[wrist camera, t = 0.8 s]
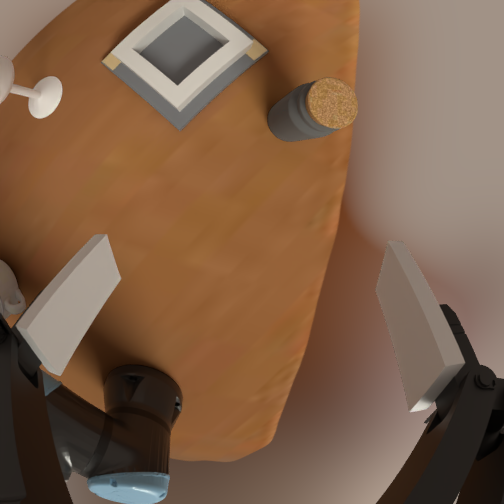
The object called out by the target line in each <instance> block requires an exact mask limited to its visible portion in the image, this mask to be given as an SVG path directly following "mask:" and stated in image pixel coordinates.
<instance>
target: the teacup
mask: <svg viewBox="0 0 504 504" xmlns="http://www.w3.org/2000/svg"><path fill="white" fill-rule="evenodd" d="M18 300H19V301H20V303H19V304H18ZM25 308H26V301H25V298H24V296H23V295H22V294H21V290H20V289H19V288H18V284H17V280H16V278H15V275H14V273H13V272H12V270H11V269H10V267H9V266H8V265H7V264H6V263H5V262H4V261H2V260H0V313H1V314H2V315H3V317H4V319H6V318H8V317H9V316H10V315H11V314H19V313H22V312H23V311H24V310H25Z"/></svg>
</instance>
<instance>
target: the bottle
mask: <svg viewBox="0 0 504 504" xmlns="http://www.w3.org/2000/svg"><path fill="white" fill-rule="evenodd" d="M357 111H358V103H357V98H356V96H355V94H354V92H353V90H352V89H351V88H350V87H349V86H348V85H347V84H346V83H345V82H343V81H342V80H340V79H337V78H332V77H326V78H322V79H319V80H317V81H313V82H311V83H307V84H303V85H301V86H299V87H297V88H296V89H294V90H293V91H291V92H290V93H289V94H287V95H286V96H285V97H284V98H282V99H281V100H280V101H278V102H277V103H276V104H275V105H274V106H273V107H272V108H271V110H270V112H269V114H268V126H269V128H270V130H271V132H272V133H273V134H274V135H275V136H276V137H277V138H279V139H281V140H283V141H291V142H292V141H300V140H307V139H313V138H319V137H324V136H327V135H329V134H331V133H332V132H334V131H337V130H339V129H340V128H343V127H346V126H348V125H349V124H351V123H352V121H353V120H354V119H355V117H356V114H357Z"/></svg>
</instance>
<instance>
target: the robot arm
mask: <svg viewBox="0 0 504 504" xmlns="http://www.w3.org/2000/svg"><path fill="white" fill-rule="evenodd" d="M120 280H121V277H120V275H119V272H118V269H117V266H116V263H115V259H114V256H113V253H112V250H111V247H110V243H109V240H108V237H107V234H95V235H94V236H93V237H92V238H91V239H90V240H89V241H88V242H87V243H86V244H85V245H84V246H83V247H82V248H81V249H80V250H79V251H78V252H77V254H76V255H75V256H74V257H73V258H72V259H71V260H70V261H69V262H68V263H67V264H66V265H65V266H64V267H63V269H62V270H61V271H60V272H59V273H58V274H57V275H56V276H55V278H54V279H53V280H52V281H51V282H50V283H49V284H48V286H47V287H46V288H45V289H43V290H42V291H41V292H40V293H39V294H38V295H37V297H36V298H35V299H34V301H32V303H31V304H30V305H29V307H28V308H27V309H26V310H25V311H24V313H23V314H22V315H21V317H20V318H19V319H18V320H17V322H16V323H15V324H14V326H13V327H12V328H10V327H9V325H8V323H7V322H6V320H5V319H4V317H3V315H2V314H1V313H0V504H73V502H72V499H71V497H70V494H69V491H68V488H67V486H66V482H67V481H68V480H69V477H70V475H71V473H72V472H76V473H78V474H80V475H82V476H84V477H86V478H87V479H88V480H87V484H88V488H89V489H90V491H92V492H94V493H95V494H96V495H98V496H100V497H103V498H105V499H109V500H112V501H116V502H120V503H126V504H153V503H157V502H159V501H161V500H163V499H164V498H165V497H166V495H167V490H168V482H169V479H170V476H169V455H170V435H171V430H172V428H173V426H174V424H175V422H176V420H177V418H178V417H179V415H180V413H181V410H182V400H183V397H182V392H181V390H180V388H179V387H178V385H177V384H176V383H175V382H174V381H173V380H172V379H171V378H170V377H168V376H167V375H165V374H164V373H162V372H160V371H158V370H155V369H153V368H149V367H146V366H140V365H125V366H121V367H118V368H116V369H114V370H112V371H111V372H110V373H109V375H108V376H107V379H106V382H105V385H104V403H105V412H103V411H102V410H100V409H98V408H97V407H95V406H94V405H92V404H90V403H89V402H87V401H86V400H84V399H83V398H81V397H80V396H78V395H77V394H75V393H74V392H72V391H71V390H70V389H68V388H67V387H65V386H64V385H63V384H62V382H61V381H57V380H56V379H54V378H53V377H51V376H50V375H48V374H47V373H46V372H44V371H43V370H41V369H40V368H39V366H40V365H41V363H42V364H43V365H44V366H45V368H46V369H47V370H48V371H49V372H51V373H54V374H56V375H59V376H61V374H62V372H63V371H64V369H65V367H66V365H67V363H68V362H69V360H70V358H71V356H72V355H73V353H74V351H75V350H76V348H77V346H78V345H79V343H80V341H81V340H82V338H83V336H84V335H85V333H86V331H87V330H88V328H89V327H90V325H91V323H92V322H93V320H94V319H95V317H96V316H97V314H98V313H99V311H100V309H101V308H102V306H103V305H104V303H105V302H106V300H107V299H108V297H109V296H110V294H111V293H112V291H113V290H114V288H115V287H116V286H117V284H118V283H119V281H120ZM376 293H377V296H378V299H379V302H380V305H381V308H382V311H383V314H384V317H385V321H386V324H387V327H388V331H389V334H390V337H391V341H392V344H393V348H394V351H395V355H396V359H397V363H398V366H399V370H400V374H401V378H402V382H403V387H404V391H405V395H406V400H407V404H408V409H409V412H413V411H419V410H425V409H428V408H429V406H430V405H431V404H432V403H433V402H434V401H435V403H436V406H437V409H436V410H435V411H434V412H433V413H432V414H431V415H430V416H429V417H428V418H427V420H426V421H425V422H424V423H428V422H429V423H428V425H427V426H426V428H425V430H424V432H423V434H422V436H421V437H420V439H419V441H418V443H417V444H416V446H415V448H414V450H413V451H412V453H411V455H410V456H409V458H408V459H407V461H406V462H405V464H404V466H403V467H402V468H401V470H400V472H399V473H398V474H397V476H396V477H395V479H394V480H393V482H392V483H391V484H390V486H389V487H388V489H387V490H386V491H385V493H384V494H383V495H382V497H381V498H380V499H379V500H378V502H377V503H376V504H453V503H454V501H455V499H456V497H457V496H458V494H459V496H458V499H457V503H456V504H504V379H501V378H496V375H495V374H494V372H493V371H492V370H491V369H489V368H488V367H486V366H483V365H480V364H479V362H478V360H477V358H476V355H475V353H474V350H473V348H472V346H471V344H470V342H469V339H468V337H467V335H466V334H465V331H464V329H463V327H462V326H461V323H460V321H459V319H458V317H457V315H456V313H455V312H454V311H453V310H452V309H451V308H450V307H449V306H448V305H447V304H443V305H439V304H438V302H437V300H436V298H435V296H434V294H433V293H432V291H431V289H430V287H429V285H428V283H427V281H426V280H425V278H424V276H423V274H422V273H421V271H420V269H419V267H418V266H417V264H416V262H415V260H414V259H413V257H412V255H411V254H410V252H409V250H408V249H407V247H406V245H405V244H404V242H402V241H388V243H387V247H386V251H385V256H384V260H383V264H382V268H381V271H380V275H379V279H378V282H377V286H376ZM459 492H460V493H459Z"/></svg>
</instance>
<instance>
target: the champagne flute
mask: <svg viewBox="0 0 504 504" xmlns="http://www.w3.org/2000/svg"><path fill="white" fill-rule="evenodd" d="M14 77H15V75H14V67H13V64H12V62H11V60H10V59H9V58H8V57H6V56H1V55H0V104H1V103H2V102H3V101H4V100H5V99H6V97H7V96H8V94H9V93H14V94H18V95H22V96H27V97H29V104H28V105H29V111H30V113H31V114H32V115H33V116H34V117H35V118H44V117H47V116H48V115H50V114H51V113H52V112H53V111H54V110H55V109H56V107H57V106H58V104H59V102H60V100H61V96H62V84H61V82H60V80H59V79H58V78H56V77H54V76H49V77H46V78H44V79H42V80H40V81H39V82H38V83H37V84H36V85H35V87H34V88H33V89H30V88H27V87H23V86H20V85H16V84H13V82H14Z"/></svg>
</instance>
